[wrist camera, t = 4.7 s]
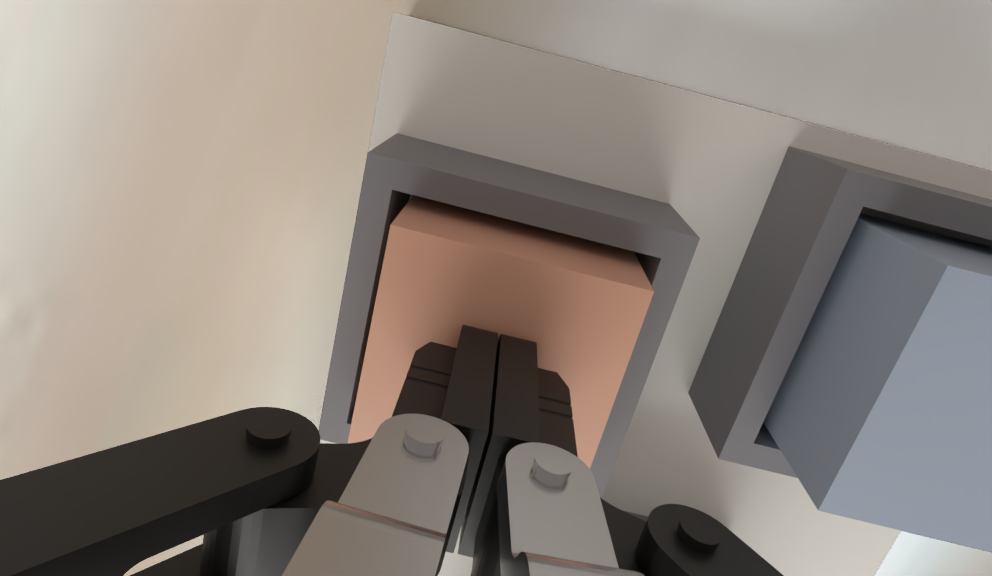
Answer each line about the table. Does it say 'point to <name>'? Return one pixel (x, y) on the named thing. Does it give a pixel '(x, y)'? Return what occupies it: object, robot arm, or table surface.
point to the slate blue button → (897, 386)
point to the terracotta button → (503, 307)
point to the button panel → (653, 257)
